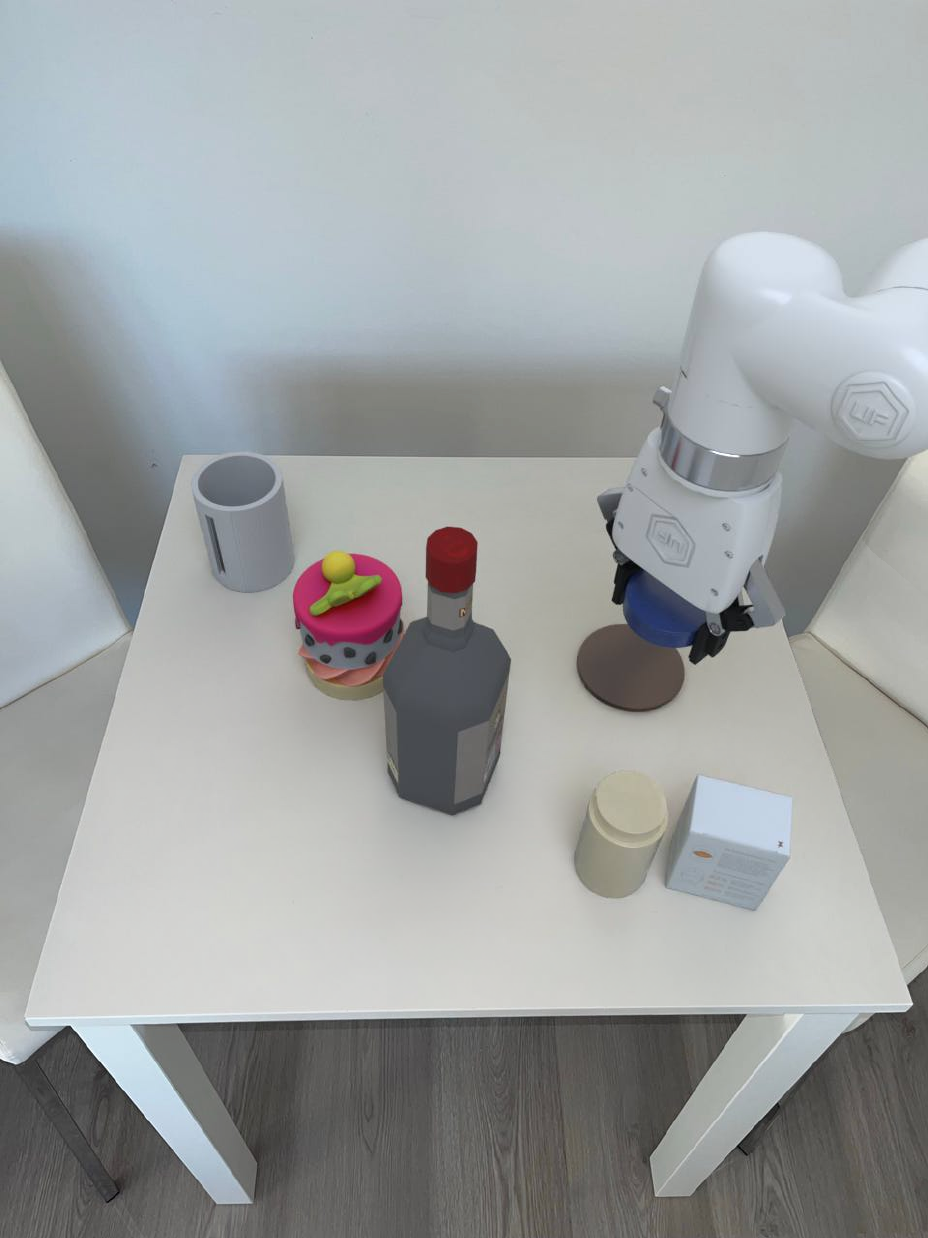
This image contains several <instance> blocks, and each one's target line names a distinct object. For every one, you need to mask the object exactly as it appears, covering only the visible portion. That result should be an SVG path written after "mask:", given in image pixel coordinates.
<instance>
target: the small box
mask: <svg viewBox="0 0 928 1238" xmlns="http://www.w3.org/2000/svg"><path fill="white" fill-rule="evenodd" d="M693 781H694V782H693V783H692V785H691V787H690V791H689V793H688V796H687V798H686V800H685V802H684V804H683V808H682V810H681V812H680V814H679V817H678V819H677V822H676V824H675V827H674V830H673V831H672V837H671V843H670V850H669V857H668V862H667V868H666V869H667V870H666V877H665V883H664V884H665V888H667V889H670V890H675V891H679V892H682V893H686V894H689V895H694V896H697V897H702V898H705V899H709V900H712V901H717V902H721V903H725V904H729V905H732V906H737V907H741V908H743V909H747V910H751V911H758V909H759V907H760V906H761V904H762V902H763V901H764V899H765V898H766V896H767V895H768V893H769V891H770V889H771V888H772V887H773V885H774V883H775V882H776V880H777V879H778V877H779V876H780V874H781V873H782V872H783V870H784V868H785V867H786V865H787V863H788V862H789V860H790V858H791V848H792V847H791V845H792V824H793V806H794V804H793V803H794V798H793V796H790V795H785V794H782V793H777V792H773V791H770V790H769V791H768V790H764V789H760V788H756V787H753V786H748V785H745V784H740V783H735V782H732V781H727V780H723V779H718V778H714V777H710V776H706V775H703V774H696V777H695V779H694V780H693Z"/></svg>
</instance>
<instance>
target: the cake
mask: <svg viewBox="0 0 928 1238" xmlns="http://www.w3.org/2000/svg"><path fill="white" fill-rule="evenodd" d="M292 603H293V610H294V617H295V619H294V625H295V629H296V630H299V631H300V637H301V642H302V645H301V646H300V648H299V649H298V653H297V655H298V656H300V657H301V658H303V659H304V663H305V669H306V674H307V677H308V678H309V680H310V682H311V683H312V685H313V686H314V687H315V688H316V689H317V690H319V691H320V692H322V693H323V694H325V696H329V697H330V698H331V697H332V698H335V699H338V700H344V701H359V700H364V699H369V698H372V697H374V696H376V695H379V694H381V693H384V688H383V674H384V672H385V670H386V668H387V666H388V664H389V662H390V660H391V659H392V657H393V655H394V653H395V651H396V649H397V647H398V645H399V643H400V641H401V640H402V638H403V636H404V634H405V623H404V621H403V619H402V617H401V610H402V607H403V588H402V584H401V581H400V579H399V577H398V576H397V574H396V573H395V571H394V570H393V569H392V568H391V567H390V566H388V565H387V564H386V563H384V562H383V561H381V560H379V559H378V558H375V557H372V556H370V555H365V554H361V553H348V552H346V551H344V550H333V551H330V552H329V553H327V554H326V556H324V557H323V558H321V559H320V560H317V561H316V562H314V563H312V564H311V565H310V566H309V567H307V568H306V569H305V570H304V571H303V572H302V574H301V575H300V576H299V577H298V579H297V581H296V582H295V585H294V588H293V591H292Z"/></svg>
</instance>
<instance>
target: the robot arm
mask: <svg viewBox="0 0 928 1238" xmlns="http://www.w3.org/2000/svg"><path fill="white" fill-rule="evenodd" d="M843 278H844V277H843V273H842V271H841V268H840V266H839V264H838V262H837V261H836V259H834V258H833V256H832V255H831V254H830V253H829V252H828V251H827V250H826V249H824V248H823V247H821V246H820V245H818V244H816V243H815V242H813V241H811V240H809V239H806V238H803V237H800V236H799V235H794V234H790V233H785V232H780V231H771V230H752V231H747V232H742V233H738V234H735V235H733V236H730V237H728V238H725V239H724V240H723V241H721V242H720V243H719V244H717V245H716V246H715V247H714V248H713V249H712V251H710V253H709V255H708V256H707V258H706V260H705V261H704V263H703V264H702V268H701V272H700V274H699V278H698V282H697V284H696V285H697V286H696V289H695V293H694V297H693V301H692V306H691V309H690V314H689V318H688V322H687V324H686V325H687V326H686V330H685V333H684V338H683V342H682V345H681V346H682V347H681V350H680V353H679V357H678V362H677V366H676V370H675V375H674V378H673V383H672V387H671V388H669V387H668V386H666V385H662V386H660V387H659V388H658V389H657V390H656V392H655V393H654V395H653V397H652V404H653V405H655V406H657V407H658V408H659V410H660V411H661V412H662V415H663V416H662V419H661V425H659V426H656V427H655V428H653V429H652V430H651V431H650V432H649V434H648V436H647V437H646V438H645V441H644V443H643V445H642V446H641V448H640V451H639V452H638V454H637V456H636V458H635V460H634V463H633V465H632V468H631V470H630V472H629V474H628V476H627V479H626V482H625V484H624V486H619V487H612V488H611V487H610V488H608V489H606V490H605V491H604V492H602V493H601V494H599V495H597V497H596V501H597V504H598V507H599V509H600V512H601V514H602V517H603V519H604V521H606V523H605V529H606V532H607V535H608V536H609V539H610V541H611V543H612V545H613V548H614V549H615V550H614V551H613V552H612V559H613V561H614V562H615V563H616V564H617V565H616V571H615V575H614V578H613V584H614V588H613V592H612V596H611V602H612V603H613V604H614V605H615V606H621V605H622V606H623V600H624V596H625V591H626V587H627V584H628V581H629V580H630V578H631V577H632V575H633V574H634V573H636V572H637V571H638V570H640V569H641V568H643V569H644V570H645V571H647V572H648V573H650V574H651V575H652V576H654V577H655V578H656V579H658V580H659V581H660V582H662V583H663V584H665V585H666V586H667V587H669V588H670V589H671V590H673V591H674V592H676V593H677V594H678V595H680V596H681V597H683V598H684V599H685V600H687V601H688V602H690V603H691V604H693V605H694V606H696V607H698V608H699V609H701V610H703V611H705V614H706V620H707V621H706V622H705V623H703V624H702V625H701V626H700V627H699V629H698V631H697V634H696V637H695V640H694V642H693V645H692V646H691V648H690V650H689V654H688V656H687V657H688V661H689V662H690V663H691V664H692V665H694V666H696V665H698V664H699V663H700V662H701V661H702V660H704V659H705V658H707V656H710V658H715V657H716V656H717V655H719V654H720V652H722V650H724V648H725V646H726V645H727V642H728V640H729V638H730V637H729V636H730V634H731V633H735V632H736V633H737V632H738V633H739V632H748V631H749V630H751V629H762V628H769V627H774V626H775V625H776V624H778V623H779V622H780V621H781V620H783V618H785V616H786V614H787V612H786V609H785V607H784V605H783V603H782V601H781V599H780V598H779V595H778V594H777V591H776V589H775V587H774V586H773V583H772V582H771V579H770V578H769V576H768V574H767V572H766V570H765V568H764V567H765V565H766V562H767V559H768V556H769V552H770V550H771V546H772V543H773V540H774V537H775V532H776V527H777V524H778V519H779V514H780V510H781V503H782V494H783V482H784V475H783V474H782V473H781V471H780V470H778V468H779V466H780V463H781V460H782V457H783V455H784V452H785V450H786V447H787V445H788V441H789V439H790V436H791V435H792V434H791V433H792V432H793V429H794V426H795V424H796V421H797V420H798V421H800V422H801V423H803V424H805V425H807V427H809V428H811V429H812V430H813V431H815V432H817V433H818V434H819V435H822V436H823V437H825V438H826V439H827V440H830V441H832V442H833V443H834V444H837V445H839V446H841V448H845V449H846V450H849V451H851V452H852V453H855V454H859V455H861V456H865V457H868V458H872V459H877V460H878V459H879V460H900V459H906V458H911V457H915V456H917V455H919V454H921V453H924V452H926V451H928V236H927V237H923V238H920V239H918V240H916V241H913V242H910V243H907V244H904V245H903V246H901V247H899V248H898V249H895V250H894V251H892V252H890V253H889V254H887V255H886V256H885V257H884V258H883V259H882V260H880V261H879V262H878V263H877V264H875V266H874V267H873V268H872V269H871V270H870V272H869V273H868V274H867V275H866V277H865V278H864V280H863V281H861V284H860V285H859V287H858V288H857V290H856V291H855V293H854V295H853V296H852V297H850V296H848V295H847V294H846V293H845V291H844V279H843ZM743 588H744V590H745V592H746V595H747V596H748V598H749V600H750V602H751V604H745V603H744V596H743V590H742V589H743Z"/></svg>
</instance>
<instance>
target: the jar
mask: <svg viewBox="0 0 928 1238" xmlns="http://www.w3.org/2000/svg"><path fill="white" fill-rule="evenodd" d="M667 802H668V800H667V797H666V795H665V792H664V790H663V789H662V787H661V786H660V785H659V784H658V783H657V782H656V781H655V780H654V779H653V778H651V777H650V776H648V775H646V774H644V773H641V772H639V771H633V770H621V771H614V772H613V773H611V774H609V775H606V776H605V777H603V779H602V780H600V782H599V783H598V785H597V786H596V787H595V789H594V790H593V791H592V793H591V795H590V798H589V799H588V804H587V808H586V813H585V815H584V819H583V822H582V826H581V830H580V834H579V837H578V841H577V845H576V848H575V852H574V857H573V863H574V868H575V869H574V870H575V872H576V875H577V876H578V878H579V880H580V881H581V883H582V884H583V885H584V886H585V888H587V889H588V890H589V891H591V892H592V893H594V894H596V895H598V896H600V897H604V898H607V899H621V898H625V897H628V896H631V895H632V894H634V893H636V892H637V891H638V890H639V889H640V888H641V887H642V885H643V884H644V883H645V880H646V878H647V875H648V873H649V871H650V868H651V866H652V864H653V861H654V859H655V856H656V854H657V851H658V848H659V846H660V845H661V842H662V840H663V837H664V836H665V835H664V834H665V832H666V829H667V827H668V823H669V811H668V803H667Z"/></svg>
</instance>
